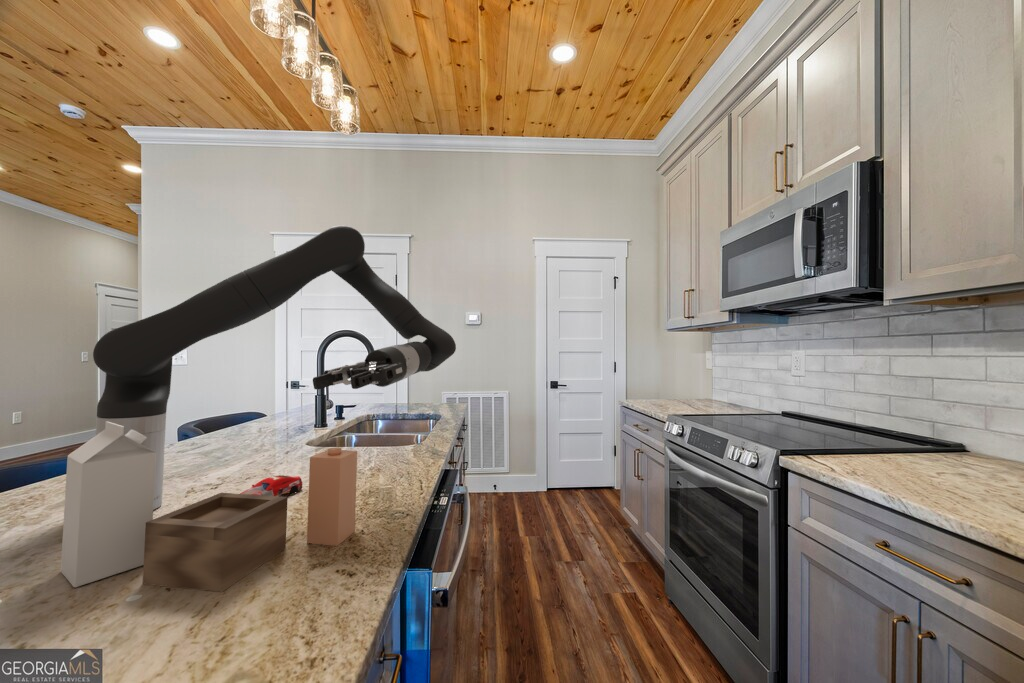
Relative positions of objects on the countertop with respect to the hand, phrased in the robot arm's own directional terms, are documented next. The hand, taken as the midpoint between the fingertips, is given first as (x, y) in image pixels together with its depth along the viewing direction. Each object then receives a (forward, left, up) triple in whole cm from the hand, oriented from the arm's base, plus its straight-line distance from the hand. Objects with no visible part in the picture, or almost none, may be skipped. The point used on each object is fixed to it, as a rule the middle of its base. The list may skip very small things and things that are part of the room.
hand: (333, 383), depth 68 cm
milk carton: (-21, -17, -24) cm, 36 cm away
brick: (+3, -4, -24) cm, 24 cm away
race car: (-19, +10, -24) cm, 32 cm away
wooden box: (-7, -14, -24) cm, 28 cm away
